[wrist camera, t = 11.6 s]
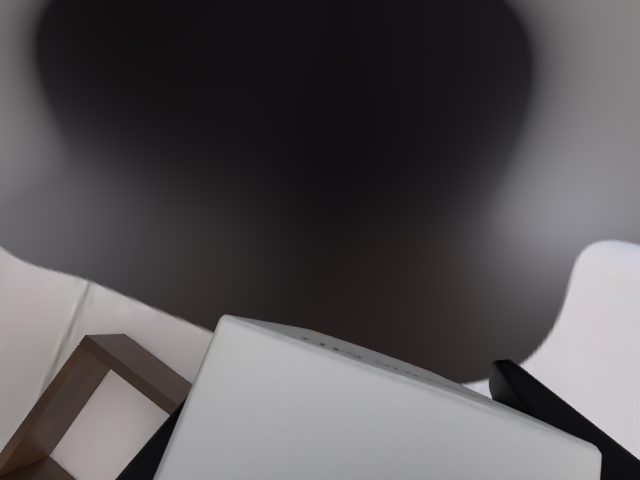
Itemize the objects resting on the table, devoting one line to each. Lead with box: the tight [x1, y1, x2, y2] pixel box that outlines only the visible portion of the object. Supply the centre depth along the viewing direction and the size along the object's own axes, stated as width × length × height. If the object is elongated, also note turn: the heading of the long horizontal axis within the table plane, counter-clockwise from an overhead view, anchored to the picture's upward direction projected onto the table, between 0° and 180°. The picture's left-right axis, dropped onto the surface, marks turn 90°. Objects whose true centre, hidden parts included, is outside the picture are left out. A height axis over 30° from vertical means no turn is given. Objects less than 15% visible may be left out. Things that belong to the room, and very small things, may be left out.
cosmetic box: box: [153, 315, 602, 480], centre depth 10 cm, size 6×4×12 cm
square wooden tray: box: [0, 334, 192, 480], centre depth 19 cm, size 9×10×4 cm
